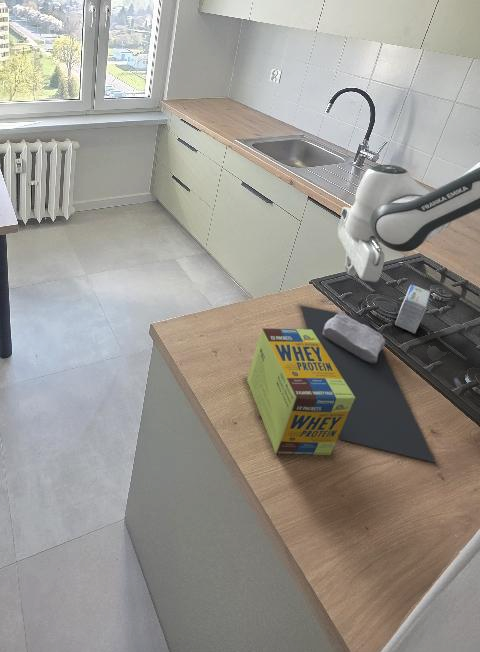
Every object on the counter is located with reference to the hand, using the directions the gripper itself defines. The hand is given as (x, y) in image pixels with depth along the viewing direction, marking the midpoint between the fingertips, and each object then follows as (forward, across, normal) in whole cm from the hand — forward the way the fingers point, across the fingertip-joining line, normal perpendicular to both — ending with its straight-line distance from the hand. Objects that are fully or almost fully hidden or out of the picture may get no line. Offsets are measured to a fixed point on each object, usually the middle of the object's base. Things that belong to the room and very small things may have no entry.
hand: (349, 271), depth 107 cm
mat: (+11, -21, +2) cm, 24 cm away
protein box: (+12, -36, +19) cm, 43 cm away
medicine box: (+11, -1, -16) cm, 20 cm away
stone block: (+11, -12, 0) cm, 16 cm away
